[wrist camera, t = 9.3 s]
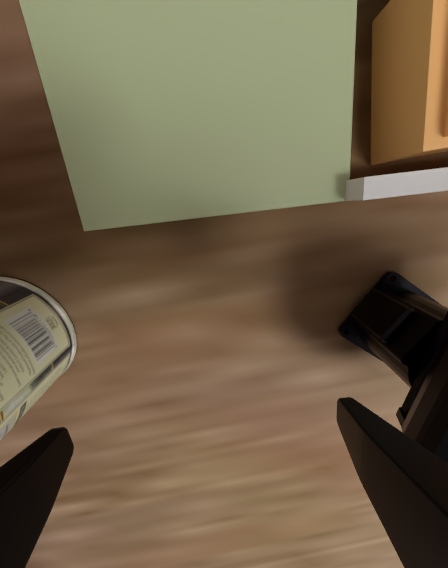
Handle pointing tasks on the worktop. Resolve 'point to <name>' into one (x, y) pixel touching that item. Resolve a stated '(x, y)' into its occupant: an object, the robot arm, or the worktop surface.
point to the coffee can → (30, 347)
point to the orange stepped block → (409, 80)
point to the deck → (204, 106)
